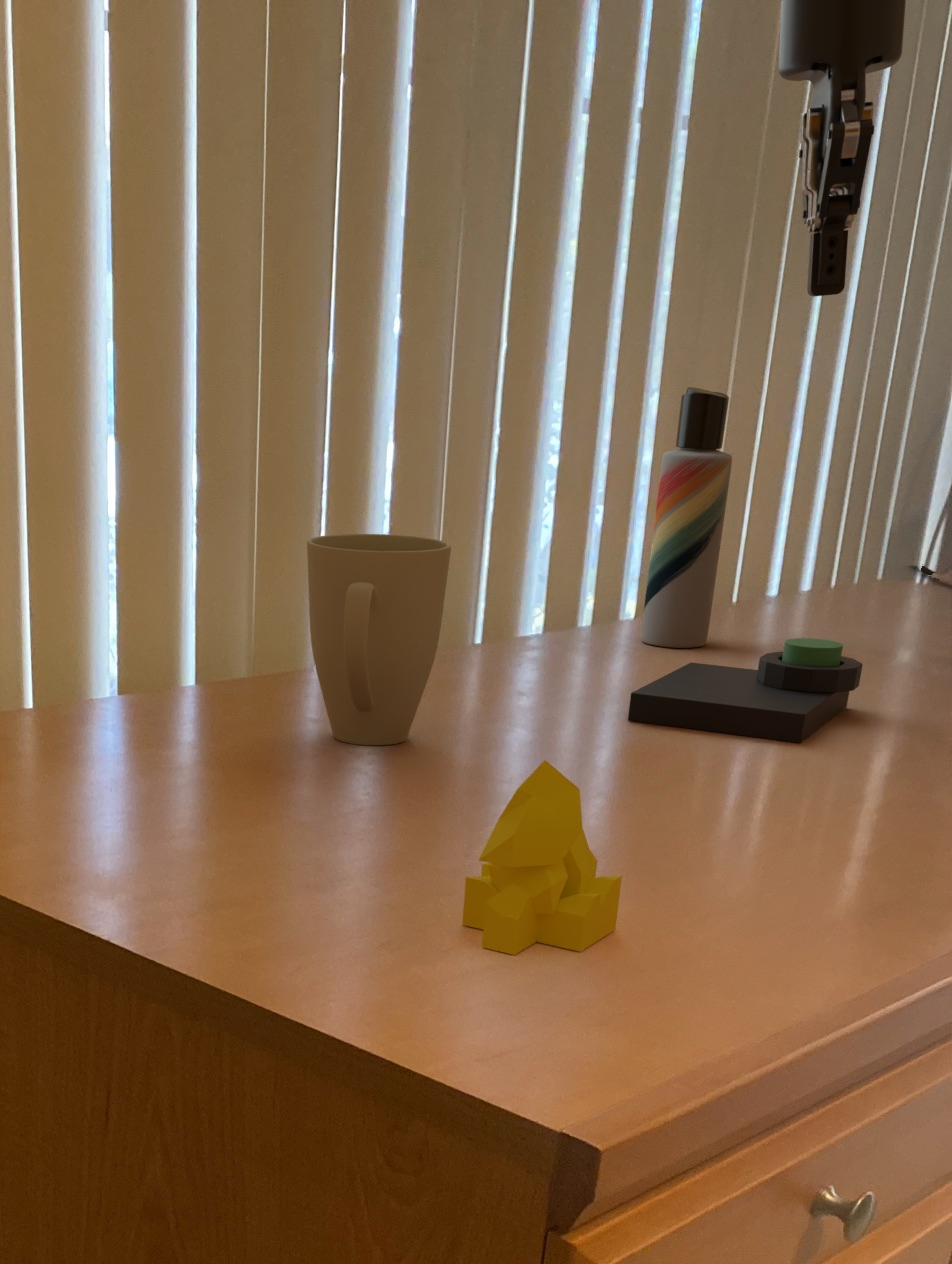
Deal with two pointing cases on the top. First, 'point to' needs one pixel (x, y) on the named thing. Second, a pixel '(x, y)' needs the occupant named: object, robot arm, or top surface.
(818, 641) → the button
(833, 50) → the robot arm
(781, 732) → the scale
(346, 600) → the mug
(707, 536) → the lotion bottle
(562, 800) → the yellow faceted pointed figurine
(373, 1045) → the top surface
